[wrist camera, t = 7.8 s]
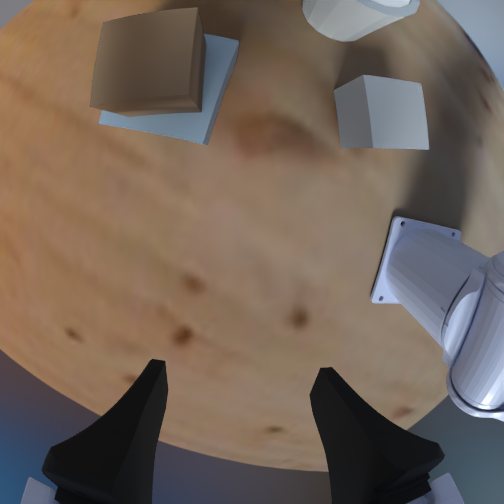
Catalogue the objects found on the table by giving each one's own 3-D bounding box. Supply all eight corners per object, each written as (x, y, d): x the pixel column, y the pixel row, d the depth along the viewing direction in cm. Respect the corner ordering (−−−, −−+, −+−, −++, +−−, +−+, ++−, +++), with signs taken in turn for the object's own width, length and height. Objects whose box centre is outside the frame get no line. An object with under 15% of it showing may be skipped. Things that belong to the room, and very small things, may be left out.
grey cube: (384, 94, 17) (421, 83, 12) (390, 147, 18) (429, 149, 14) (333, 90, 17) (363, 74, 12) (340, 148, 18) (373, 148, 13)
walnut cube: (206, 45, 12) (197, 7, 8) (201, 112, 14) (188, 94, 9) (135, 52, 12) (103, 22, 7) (128, 117, 13) (89, 106, 9)
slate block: (237, 58, 16) (239, 40, 12) (207, 145, 18) (202, 143, 15) (148, 44, 14) (134, 26, 11) (119, 127, 17) (98, 123, 13)
